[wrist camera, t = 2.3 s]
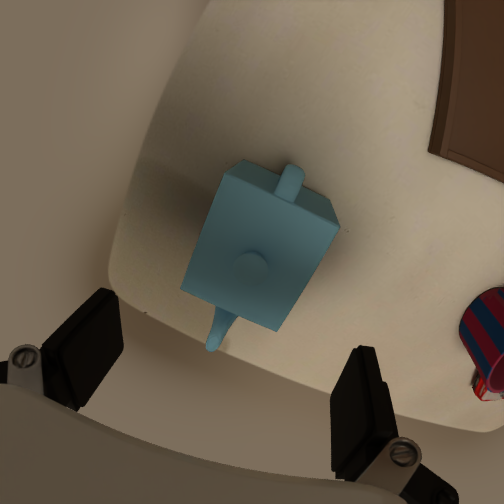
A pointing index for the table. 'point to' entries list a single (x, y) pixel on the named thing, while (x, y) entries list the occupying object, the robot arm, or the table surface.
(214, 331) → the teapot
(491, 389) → the mug
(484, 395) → the race car
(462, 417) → the table surface
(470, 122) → the tray
